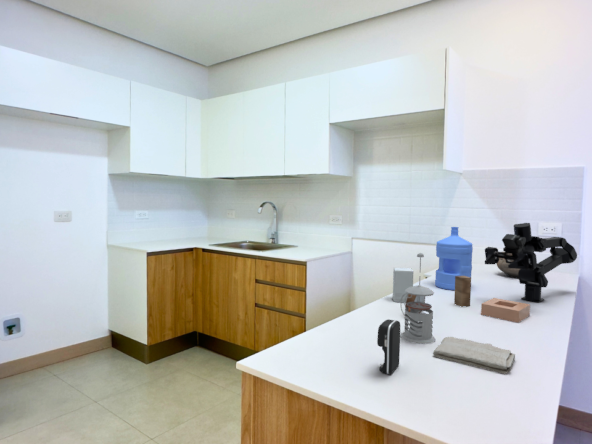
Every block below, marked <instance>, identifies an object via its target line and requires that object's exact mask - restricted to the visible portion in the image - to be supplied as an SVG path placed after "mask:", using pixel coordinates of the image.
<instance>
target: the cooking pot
mask: <svg viewBox="0 0 592 444" xmlns="http://www.w3.org/2000/svg"><path fill="white" fill-rule="evenodd" d="M509 264H510V263H506V260H505V259H504V258H499V262H498V263H496V267H497V269H499V270H500V271H501V272H502V273H503V274H506V275H507V276H508V277H511V278H518V279H519V276H518V272H519V270H520V269H516V268H508V265H509Z"/></svg>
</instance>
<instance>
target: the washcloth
mask: <svg viewBox="0 0 592 444" xmlns="http://www.w3.org/2000/svg"><path fill="white" fill-rule="evenodd" d="M432 354H433V357H435V358H438V359H443V360H446V361H451V362H454V363H459V364H462V365H467V366H471V367H474V368H479V369H484V370H488V371H490V372H495V373H498V374H499V373H500V374H502V375H503V374H504V375H508V373H510V372H511V370H512V367H513V364H514V362H515V359H516V354H515V353H513V352H512V351H511V350H510V349H506V348H505V349H504V348H501V347H498V346H494V345H493V344H491V343H487V342H486V343H484V342H479V341H474V340H472V339H471V340H470V339H466V338H465V339H464V338H458V337H454V336H445V337H444V338H443V339H442V340H441V341H440V344H439V345H437V346H436V347H435V348H434V350H433V352H432Z"/></svg>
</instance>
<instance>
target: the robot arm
mask: <svg viewBox="0 0 592 444" xmlns="http://www.w3.org/2000/svg"><path fill="white" fill-rule="evenodd" d="M513 232H514V233H512V234H511V233H507V234H505V236H504V237H502V239H501V241H502V243H503V245H504V247H503V249H502V250H503V251H499V249H498V248H497V247H493V246H492V247H491V246H488V247H485V248H484V254H485V255H484V257H485V260H484V265H496V264H497V263H498V262H499V258H504V259H505V260H506V263H510V264H509V265H508V268H516V269H520V270H519V272H518V276H519V278H518V281H519V284H521V285H524V296H523V297H521V298H520V299H521V300H523V301H528V302H534V303H541V302H543V301H545V298H542V288H547V287H548V283H549V280H548V279H547V277H546V274H548V273H549V272H550V271H552V270H554V269H555V268H557V267H558V266H560V265H563V264H572V263H574V262H575V261H576V260H577V258H578V253H577V251H576V249H575V247H574V246H573V245H572V244H570V243H569V242H568V241H567V239H566V238H564V237H561V236H560V237H559V236H552V237H545V238H542V237H540V236H535V235H532V228H531V223H530V222H523V223H515V224H513ZM547 249H549V252H550V255H549V256H548V257H546V258H544V259H543V260H541V261H539V262H538V260H537V254H536V253H543V252H545V251H547ZM535 252H536V253H535Z"/></svg>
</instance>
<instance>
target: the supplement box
mask: <svg viewBox="0 0 592 444" xmlns="http://www.w3.org/2000/svg"><path fill="white" fill-rule="evenodd" d="M392 275H393V278H392V279H393V280H392V281H393V282H392V300H393V303H394V302H395V303H404V304H406V303H405V298H406V300H407V297H406V296H407V294H408V293H407V292H406V291H405V290H406V289H407V288H409V287H412V286H414V270H413V269H412V268H410V267H407V268H406V267H393V274H392ZM406 293H407V294H406ZM404 294H405V295H404ZM403 295H404V296H403ZM402 296H403V298H402ZM401 298H402V300H401Z"/></svg>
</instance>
